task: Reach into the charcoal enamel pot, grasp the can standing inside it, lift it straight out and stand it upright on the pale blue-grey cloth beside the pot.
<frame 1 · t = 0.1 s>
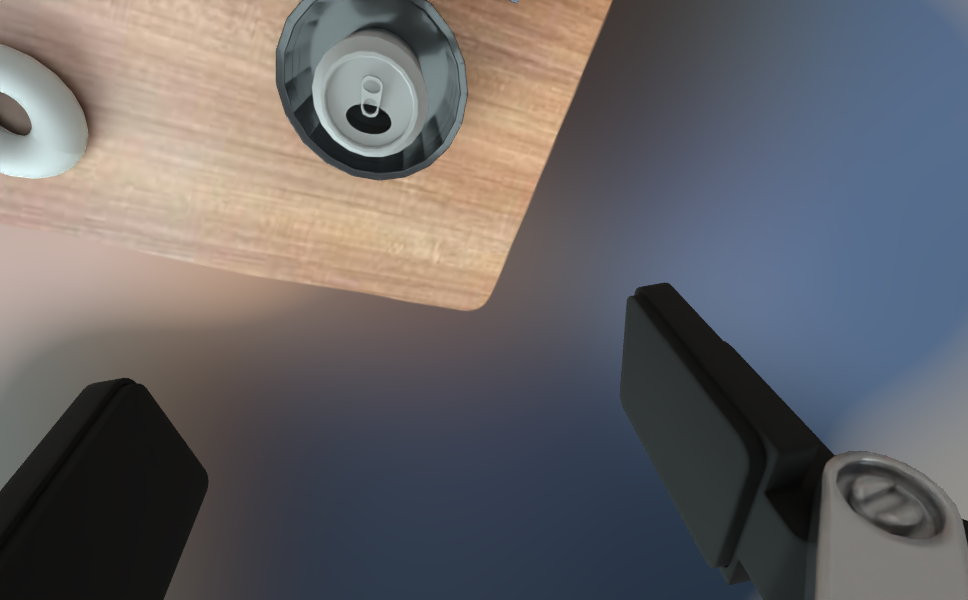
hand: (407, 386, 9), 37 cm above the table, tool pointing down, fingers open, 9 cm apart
can: (378, 77, 39), resting on pot
donut: (25, 109, 37), on the table
pot: (378, 77, 39), on the table
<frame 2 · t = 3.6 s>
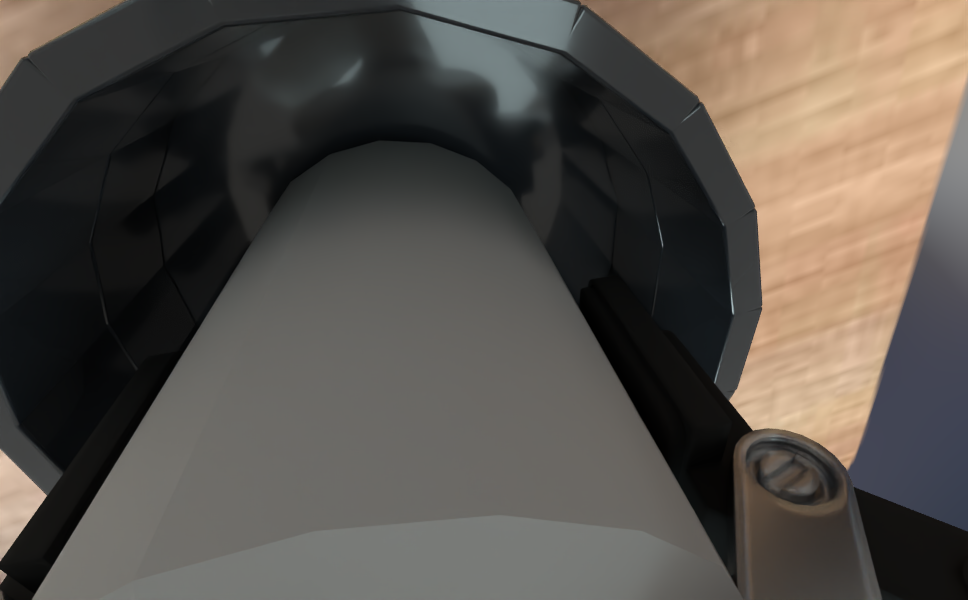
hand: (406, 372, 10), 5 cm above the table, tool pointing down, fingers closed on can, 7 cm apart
can: (405, 260, 14), resting on pot, touching gripper
pot: (405, 258, 14), on the table
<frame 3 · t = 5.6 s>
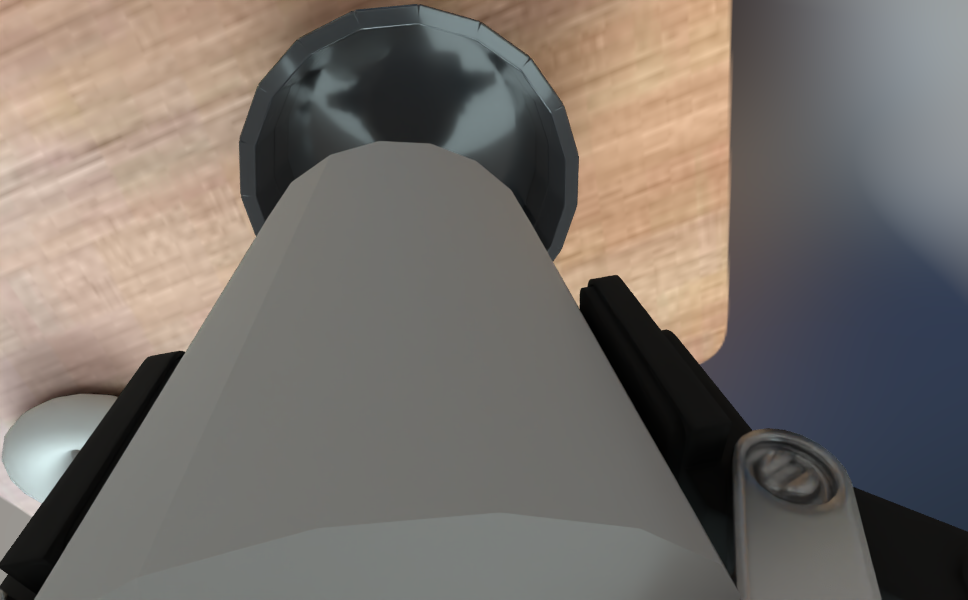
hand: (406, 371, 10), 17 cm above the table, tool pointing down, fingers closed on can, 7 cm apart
can: (405, 260, 14), point 12 cm above the table, touching gripper
donut: (116, 435, 32), on the table
pot: (416, 161, 24), on the table
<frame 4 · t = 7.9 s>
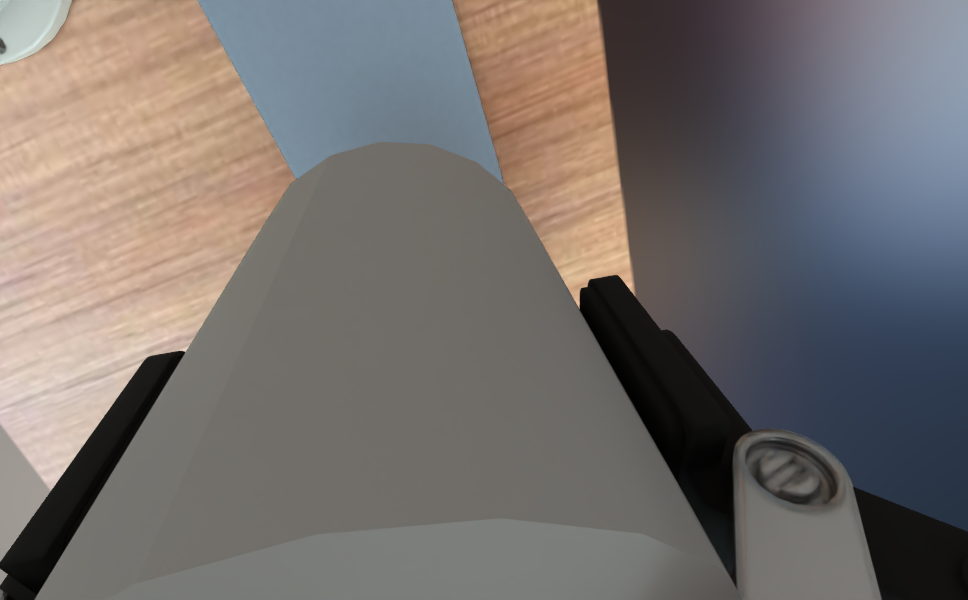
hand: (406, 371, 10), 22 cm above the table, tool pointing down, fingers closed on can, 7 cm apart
can: (405, 261, 14), point 17 cm above the table, touching gripper
cloth: (356, 66, 25), on the table
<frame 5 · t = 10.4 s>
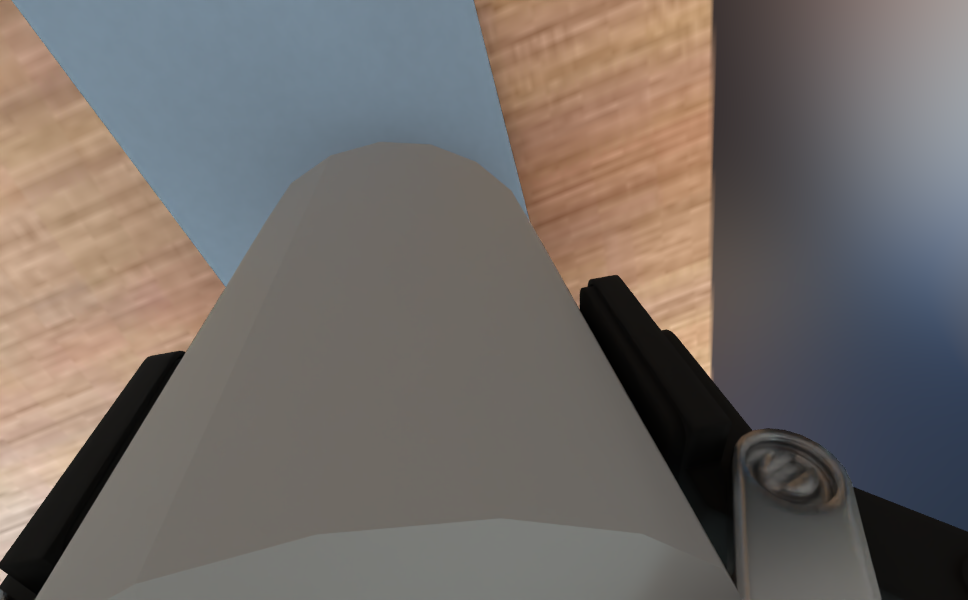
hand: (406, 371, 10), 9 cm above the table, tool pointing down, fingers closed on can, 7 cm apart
can: (405, 261, 14), point 5 cm above the table, touching gripper
cloth: (319, 126, 16), on the table
when the fingers open (5 cm above the table, at t = 12.1 s): can stays where it is, resting on cloth.
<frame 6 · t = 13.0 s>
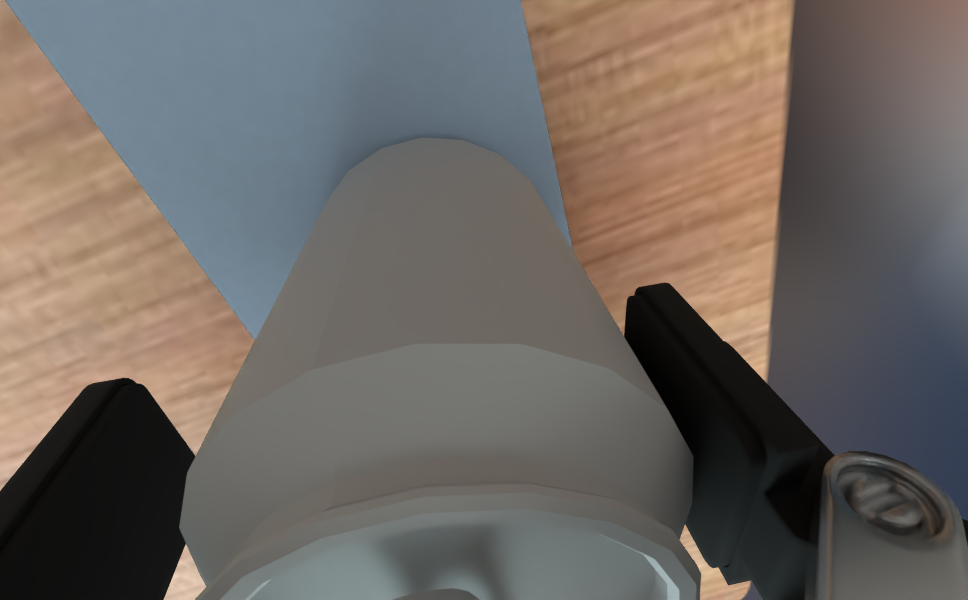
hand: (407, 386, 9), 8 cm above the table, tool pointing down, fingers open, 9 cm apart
can: (437, 242, 16), resting on cloth, touching gripper
cloth: (351, 159, 14), on the table
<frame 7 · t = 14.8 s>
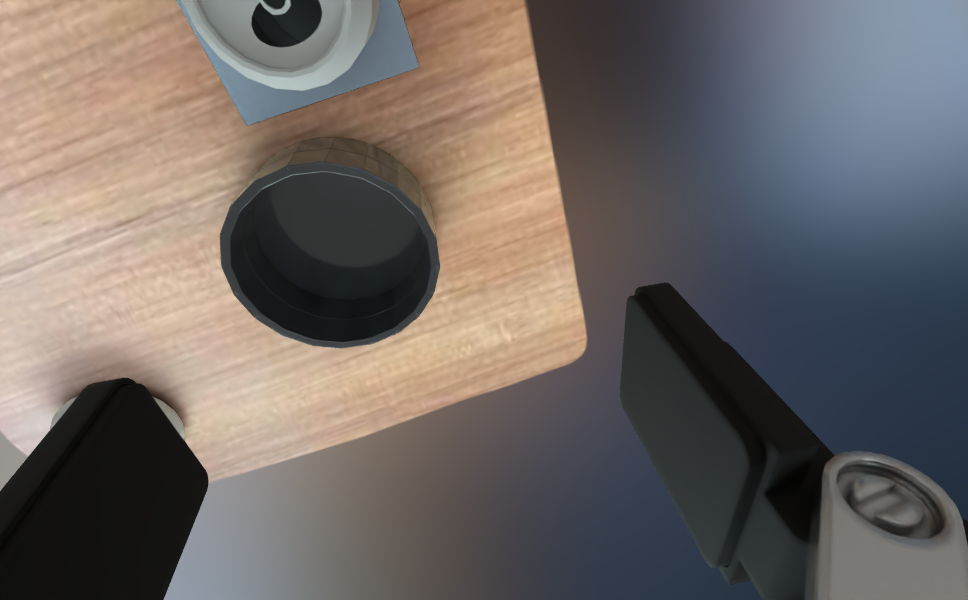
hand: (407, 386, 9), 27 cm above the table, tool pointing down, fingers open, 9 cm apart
donut: (130, 418, 43), on the table
pot: (343, 228, 36), on the table
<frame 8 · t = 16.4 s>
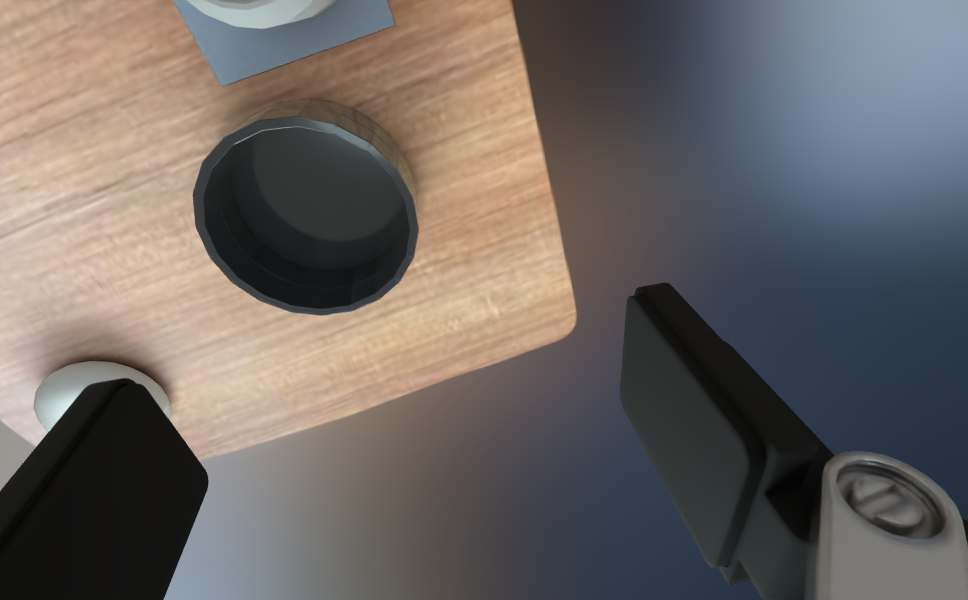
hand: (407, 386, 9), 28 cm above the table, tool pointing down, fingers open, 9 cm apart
donut: (116, 393, 43), on the table
pot: (324, 195, 35), on the table
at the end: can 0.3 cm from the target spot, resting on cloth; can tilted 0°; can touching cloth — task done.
